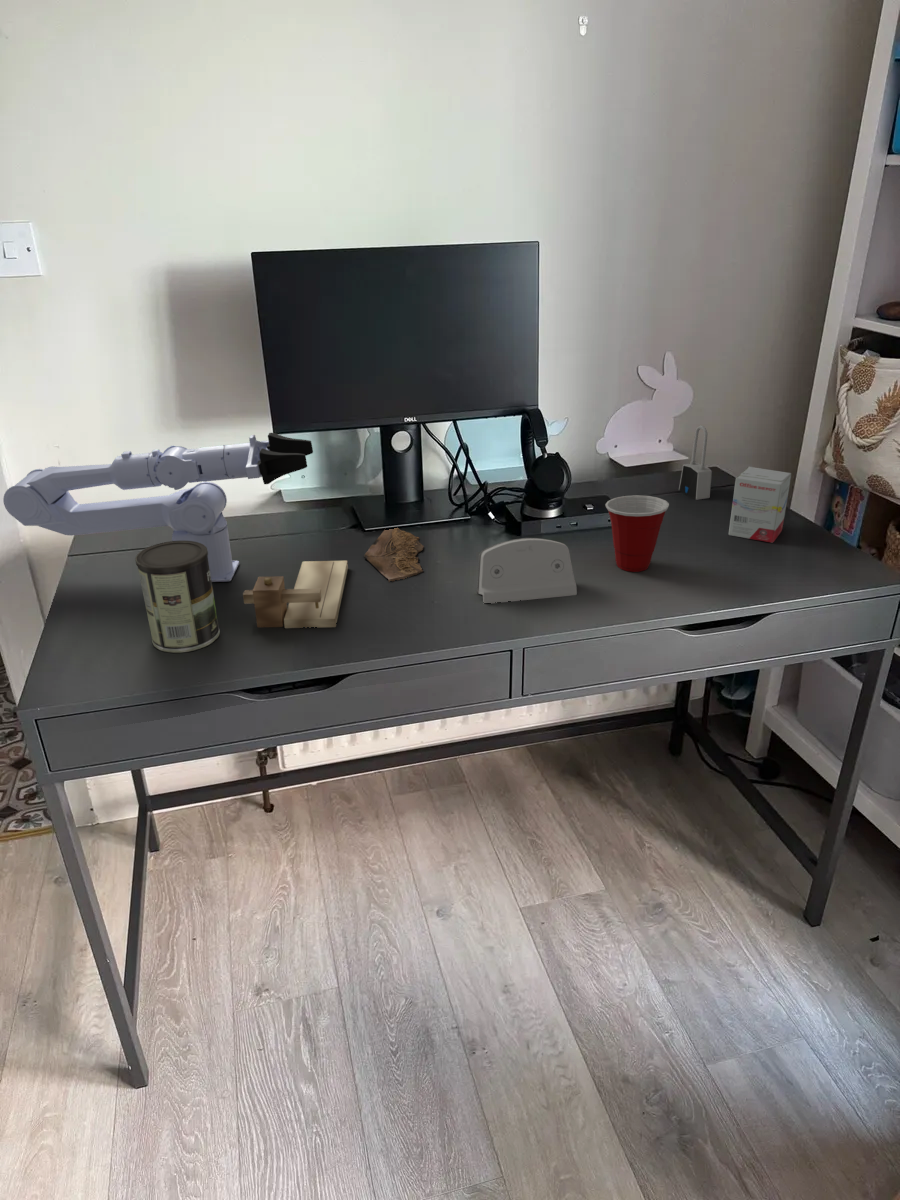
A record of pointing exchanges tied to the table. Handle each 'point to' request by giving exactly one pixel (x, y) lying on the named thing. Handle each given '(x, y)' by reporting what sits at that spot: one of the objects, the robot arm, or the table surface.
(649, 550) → the plastic cup
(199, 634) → the coffee can
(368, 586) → the table surface
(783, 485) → the ink box
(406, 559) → the wooden fragment
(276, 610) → the gauge
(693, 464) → the padlock
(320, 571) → the board
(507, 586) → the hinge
